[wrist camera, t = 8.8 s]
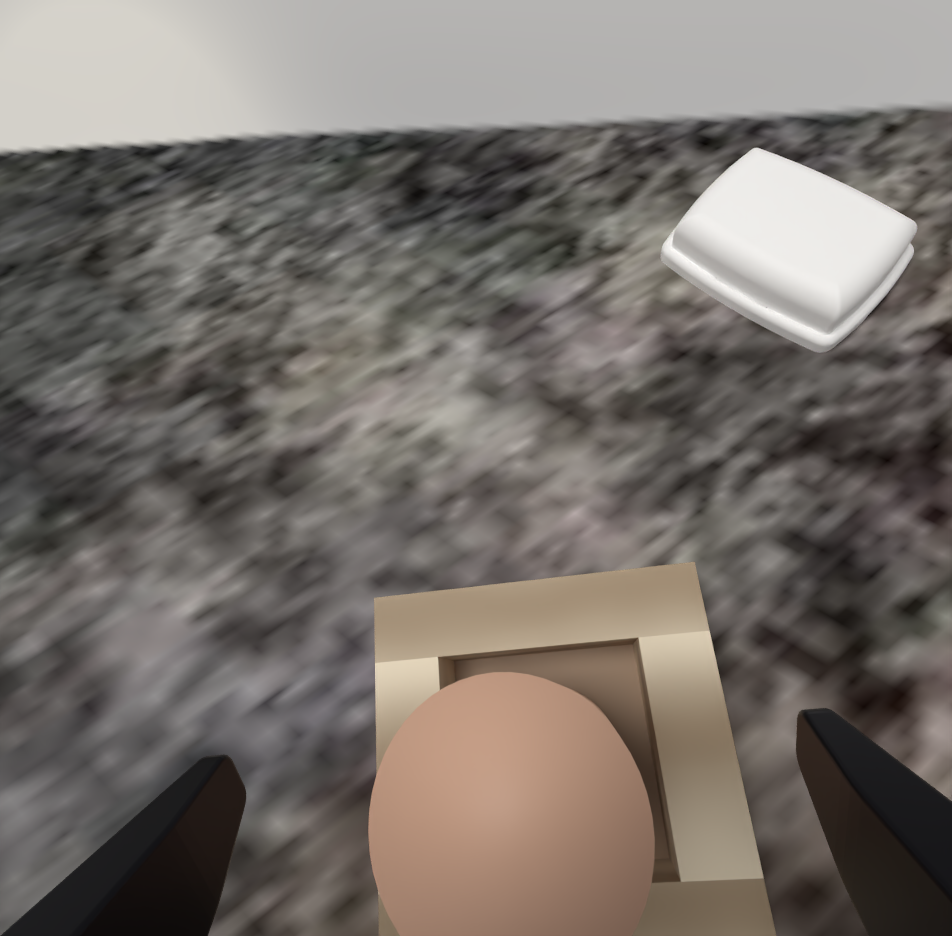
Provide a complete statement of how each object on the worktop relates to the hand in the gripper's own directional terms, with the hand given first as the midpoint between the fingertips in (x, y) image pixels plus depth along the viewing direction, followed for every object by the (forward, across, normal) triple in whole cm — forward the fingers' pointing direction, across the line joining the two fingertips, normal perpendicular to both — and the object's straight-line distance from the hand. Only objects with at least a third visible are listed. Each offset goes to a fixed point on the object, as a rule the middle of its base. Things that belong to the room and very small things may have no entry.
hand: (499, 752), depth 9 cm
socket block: (+9, 0, +10) cm, 13 cm away
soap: (+22, -12, -3) cm, 26 cm away
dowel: (+8, 0, +10) cm, 13 cm away
